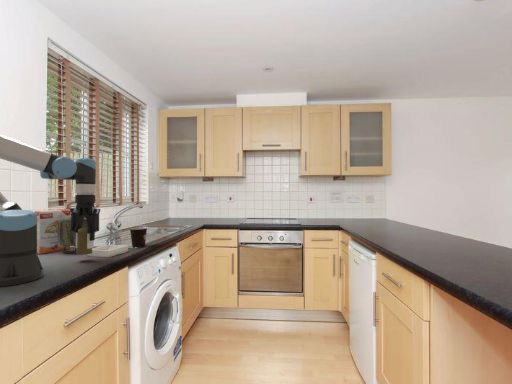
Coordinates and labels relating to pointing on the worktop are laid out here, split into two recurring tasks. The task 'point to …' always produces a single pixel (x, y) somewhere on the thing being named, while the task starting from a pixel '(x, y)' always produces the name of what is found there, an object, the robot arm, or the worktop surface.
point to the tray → (108, 250)
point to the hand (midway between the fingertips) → (84, 247)
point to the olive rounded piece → (83, 242)
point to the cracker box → (49, 230)
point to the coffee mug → (138, 236)
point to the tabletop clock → (67, 232)
